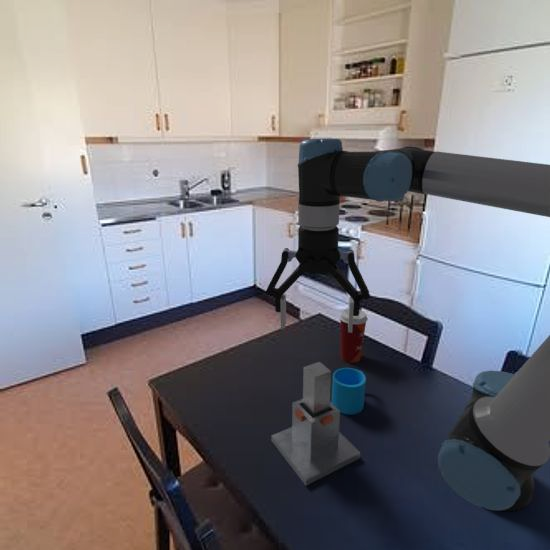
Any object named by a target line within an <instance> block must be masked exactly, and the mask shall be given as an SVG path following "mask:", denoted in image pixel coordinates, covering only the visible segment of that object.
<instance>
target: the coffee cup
mask: <svg viewBox="0 0 550 550" xmlns="http://www.w3.org/2000/svg"><path fill="white" fill-rule="evenodd" d="M348 319H349V308H346V309H343V310H342V311H341V312H340V314H339V320H340V321H339V322H340V326H339V327H340V329H339V331H340V358H341V360H342V361H344V362H347V363H350V364H351V363H357V362H360V360H361V357H362V351H363V347H364V345H363V344H364V339H365V332H366V331H365V330H366V325H367V321H368V317H367V313H366V312H365V311H364V310H361V309H359V315H358V316H353V327H352V333H350V332H348Z"/></svg>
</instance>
